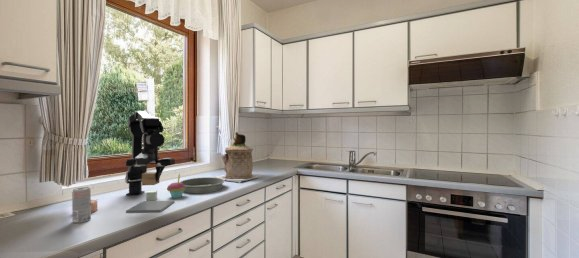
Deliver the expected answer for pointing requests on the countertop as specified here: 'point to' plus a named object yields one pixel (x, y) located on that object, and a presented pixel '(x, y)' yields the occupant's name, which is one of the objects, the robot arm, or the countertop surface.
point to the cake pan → (202, 185)
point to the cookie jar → (238, 161)
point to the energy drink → (81, 205)
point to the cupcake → (176, 189)
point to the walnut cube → (149, 178)
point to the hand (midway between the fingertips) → (150, 181)
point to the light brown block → (93, 206)
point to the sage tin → (151, 195)
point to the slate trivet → (150, 206)
